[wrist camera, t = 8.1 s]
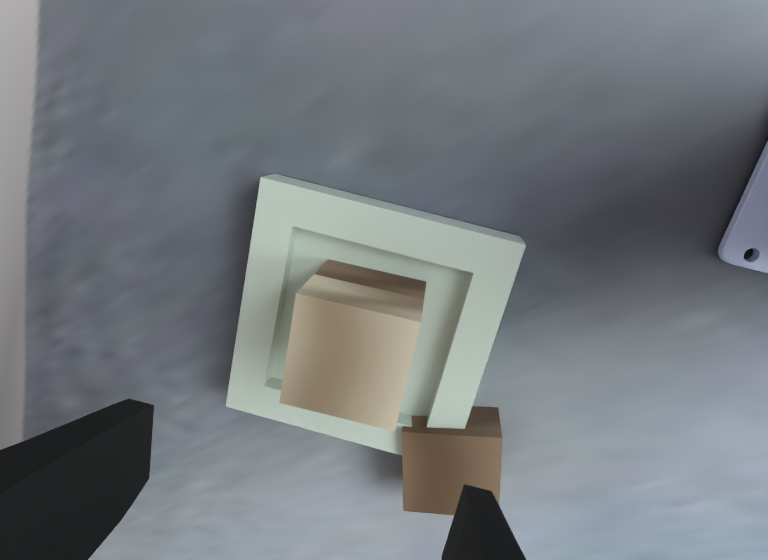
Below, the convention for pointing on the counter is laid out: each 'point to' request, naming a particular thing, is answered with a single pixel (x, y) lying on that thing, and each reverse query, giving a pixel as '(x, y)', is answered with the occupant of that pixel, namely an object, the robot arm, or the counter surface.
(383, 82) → the counter surface
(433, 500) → the walnut brick
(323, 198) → the base plate
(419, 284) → the tan cube
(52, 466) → the robot arm
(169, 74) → the counter surface
